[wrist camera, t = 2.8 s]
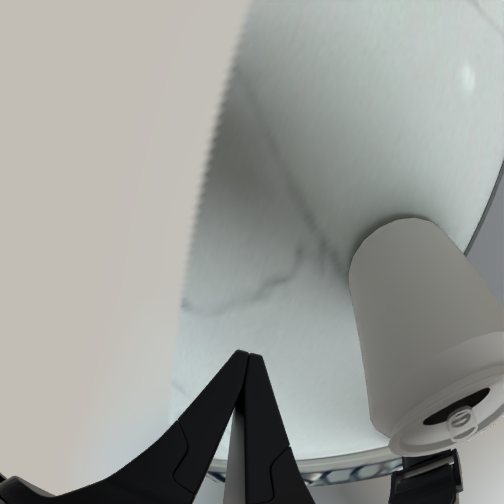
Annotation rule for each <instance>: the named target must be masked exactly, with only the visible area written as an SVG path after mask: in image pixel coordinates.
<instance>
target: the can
mask: <svg viewBox="0 0 504 504" xmlns="http://www.w3.org/2000/svg"><path fill="white" fill-rule="evenodd" d="M348 273H349V289H350V294H351V299H352V304H353V308H354V314H355V319H356V324H357V329H358V335H359V341H360V346H361V352H362V359H363V365H364V372H365V379H366V386H367V394H368V402H369V410H370V420H371V422H372V423H373V425H374V427H375V429H376V430H378V431H379V432H381V433H383V434H384V435H386V436H387V437H389V438H391V440H390V442H389V444H388V445H389V448H390V450H391V452H392V453H394V454H397V455H400V456H403V457H418V456H424V455H430V454H434V453H438V452H441V451H445V450H448V449H451V448H453V447H455V446H458V445H460V444H462V443H465V442H467V441H468V440H471V439H472V438H474V437H476V436H478V435H479V434H481V433H483V432H484V431H486V430H487V429H489V428H490V427H491V426H493V425H494V424H495V423H497V422H498V421H499V420H500V419H502V418H503V417H504V308H503V306H502V305H501V303H500V302H499V300H498V299H497V297H496V296H495V294H494V293H493V292H492V290H491V289H490V287H489V286H488V285H487V283H486V282H485V281H484V279H483V278H482V277H481V275H480V274H479V273H478V272H477V270H476V269H475V268H474V266H473V265H472V264H471V263H470V261H469V260H468V259H467V258H466V257H465V255H464V254H463V253H462V252H461V250H460V249H459V248H458V247H457V246H456V245H455V243H454V242H453V241H452V240H451V239H450V238H449V237H448V235H447V234H446V233H445V232H444V231H443V230H442V229H440V228H439V227H438V226H436V225H435V224H433V223H432V222H431V221H427V220H422V219H418V218H408V219H399V220H395V221H393V222H391V223H388V224H386V225H384V226H382V227H379V228H378V229H377V230H376V231H374V232H373V233H372V234H371V235H370V236H368V237H367V238H366V239H365V240H364V241H363V243H362V244H361V245H360V247H359V248H358V250H357V251H356V253H355V254H354V256H353V259H352V262H351V265H350V269H349V272H348Z"/></svg>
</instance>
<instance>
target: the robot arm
mask: <svg viewBox="0 0 504 504" xmlns="http://www.w3.org/2000/svg"><path fill="white" fill-rule="evenodd" d="M233 410H234V411H233ZM232 412H233V418H232V427H231V436H230V445H229V454H228V463H227V472H226V481H225V491H224V499H223V504H315V502H314V500H313V498H312V496H311V494H310V492H309V491H308V488H307V486H306V484H305V482H304V480H303V478H302V476H301V474H300V471H299V469H298V466H297V464H296V461H295V458H294V455H293V452H292V449H291V447H290V446H289V445H290V443H289V440H288V437H287V434H286V431H285V428H284V424H283V421H282V418H281V415H280V412H279V409H278V405H277V402H276V399H275V396H274V393H273V389H272V386H271V383H270V380H269V376H268V373H267V370H266V366H265V363H264V360H263V357H262V356H261V355H258V354H254V353H250V354H249V353H248V352H246V351H242V350H236V351H235V352H234V354H233V355H232V356H231V357H230V358H229V360H228V361H227V362H226V363H225V364H224V366H223V367H222V368H221V369H220V370H219V372H218V373H217V374H216V375H215V376H214V378H213V379H212V380H211V381H210V382H209V384H208V385H207V386H206V387H205V388H204V389H203V391H202V392H201V393H200V394H199V395H198V396H197V398H196V399H195V400H194V401H193V402H192V403H191V404H190V406H189V407H188V408H187V409H186V410H185V411H184V412H183V414H182V415H181V416H180V417H179V418H178V421H175V422H174V423H173V425H172V426H171V427H170V428H169V429H168V430H167V431H166V432H165V433H164V434H163V435H162V436H161V437H160V438H159V439H158V440H157V441H156V442H155V443H154V444H152V445H151V446H150V447H149V448H148V449H146V450H145V451H144V452H143V453H141V454H140V455H139V456H138V457H136V458H135V459H133V460H132V461H131V462H129V463H128V464H127V465H125V466H124V467H123V468H121V469H120V470H119V471H117V472H116V473H114V474H112V475H111V476H109V477H107V478H106V479H103V480H101V481H99V482H96V483H93V484H91V485H88V486H85V487H83V488H80V489H77V490H74V491H71V492H68V493H65V494H62V495H59V496H55V495H53V494H50V493H48V492H46V491H44V490H42V489H40V488H38V487H36V486H34V485H32V484H30V483H29V482H27V481H25V480H23V479H21V478H20V477H17V476H12V477H11V478H9V479H7V478H6V477H5V476H3V475H2V474H1V473H0V504H193V502H194V500H195V497H196V495H197V493H198V491H199V489H200V487H201V484H202V482H203V480H204V478H205V475H206V473H207V471H208V469H209V466H210V464H211V462H212V460H213V457H214V455H215V453H216V450H217V448H218V446H219V443H220V441H221V439H222V436H223V434H224V432H225V429H226V427H227V424H228V422H229V420H230V417H231V415H232ZM288 446H289V447H288ZM453 461H454V464H452V465H450V464H449V463H451V462H453ZM402 463H403V470H400V471H394V472H392V475H391V490H390V497H389V502H388V504H459V496H458V493H459V492H462V491H463V481H462V472H461V464H460V459H459V455H458V452H457V449H453V450H452V451H451V449H448V450H445V451H441V452H438V453H434V454H430V455H424V456H418V457H403V456H402Z"/></svg>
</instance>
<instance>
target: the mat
mask: <svg viewBox="0 0 504 504" xmlns="http://www.w3.org/2000/svg"><path fill="white" fill-rule="evenodd" d="M464 255H465V257H466V258H467V259H468V260H469V261H470V263H471V264H472V265H473V266H474V268H475V269H476V270H477V272H478V273H479V274H480V275H481V277H482V278H483V279H484V281H485V282H486V283H487V285H488V286H489V287H490V289H491V290H492V292H493V293H494V294H495V296H496V297H497V299H498V300H499V302H500V303H501V305H502V306H503V308H504V162H503V165H502V168H501V171H500V174H499V176H498V179H497V182H496V185H495V187H494V190H493V192H492V195H491V197H490V200H489V202H488V205H487V207H486V209H485V212H484V214H483V216H482V218H481V221H480V223H479V225H478V227H477V229H476V231H475V233H474V235H473V238H472V240H471V242H470V243H469V245H468V247H467V249H466V251H465V253H464Z"/></svg>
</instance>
